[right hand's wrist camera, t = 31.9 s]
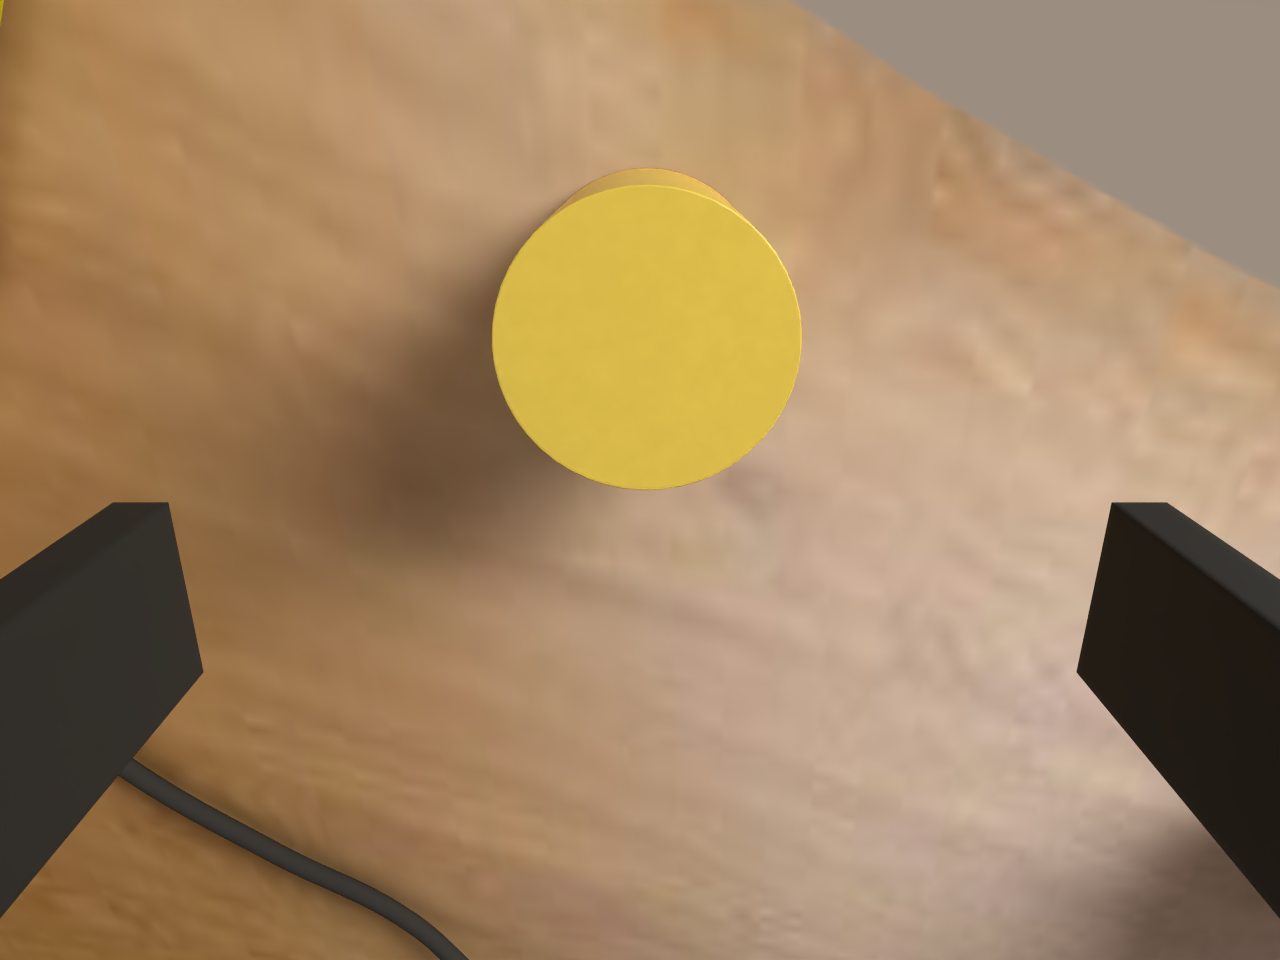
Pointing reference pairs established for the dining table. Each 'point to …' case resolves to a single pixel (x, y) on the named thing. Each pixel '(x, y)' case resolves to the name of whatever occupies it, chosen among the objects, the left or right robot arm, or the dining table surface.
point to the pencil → (1, 10)
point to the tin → (646, 332)
